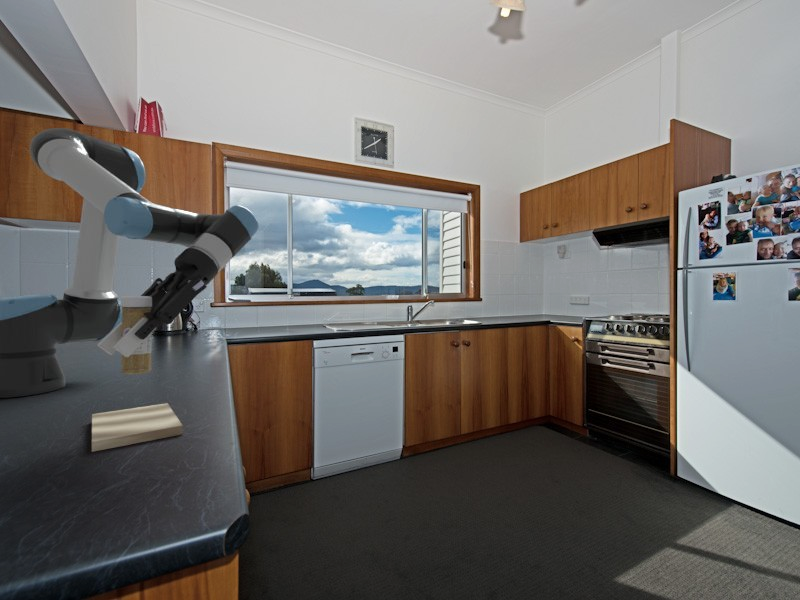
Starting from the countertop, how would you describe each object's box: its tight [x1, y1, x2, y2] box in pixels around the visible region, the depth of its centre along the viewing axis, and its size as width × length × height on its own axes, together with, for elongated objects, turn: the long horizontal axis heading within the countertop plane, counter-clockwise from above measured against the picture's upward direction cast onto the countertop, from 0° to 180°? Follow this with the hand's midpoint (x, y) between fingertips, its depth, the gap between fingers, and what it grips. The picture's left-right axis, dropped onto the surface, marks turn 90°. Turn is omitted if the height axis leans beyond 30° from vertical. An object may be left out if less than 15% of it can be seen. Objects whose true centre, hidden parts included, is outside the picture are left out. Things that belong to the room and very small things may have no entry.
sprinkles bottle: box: [120, 295, 152, 375], centre depth 68 cm, size 5×5×14 cm
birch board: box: [91, 402, 184, 453], centre depth 68 cm, size 17×12×2 cm
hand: (112, 350), depth 64 cm, fingers closed on sprinkles bottle, 4 cm apart
